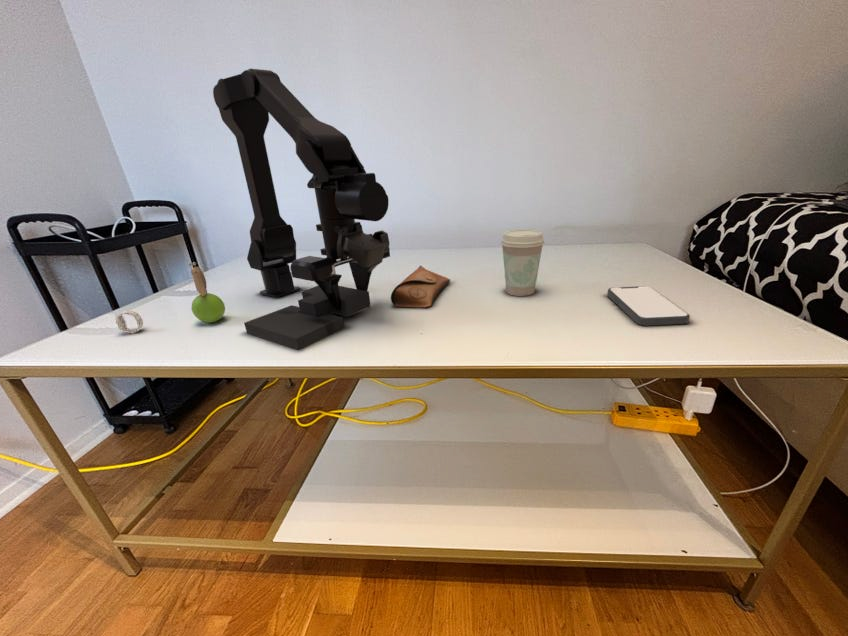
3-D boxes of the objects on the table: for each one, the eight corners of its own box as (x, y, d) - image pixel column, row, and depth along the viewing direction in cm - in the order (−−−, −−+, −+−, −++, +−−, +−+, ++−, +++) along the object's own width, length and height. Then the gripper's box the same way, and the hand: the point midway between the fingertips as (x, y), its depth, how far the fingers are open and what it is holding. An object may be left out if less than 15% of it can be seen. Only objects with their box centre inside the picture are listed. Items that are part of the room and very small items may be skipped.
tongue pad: (288, 312, 77) (284, 297, 76) (327, 297, 84) (325, 283, 83) (331, 323, 71) (328, 307, 70) (370, 306, 78) (368, 291, 77)
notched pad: (246, 333, 72) (243, 322, 71) (293, 314, 80) (291, 305, 79) (298, 350, 65) (295, 338, 64) (344, 328, 73) (342, 317, 72)
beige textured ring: (147, 328, 76) (139, 308, 75) (143, 332, 75) (134, 311, 73) (126, 331, 76) (116, 310, 74) (121, 335, 74) (111, 314, 72)
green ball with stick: (196, 331, 74) (173, 265, 69) (197, 319, 79) (175, 257, 74) (229, 324, 76) (209, 260, 71) (228, 314, 82) (209, 253, 76)
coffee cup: (495, 296, 84) (495, 236, 79) (505, 284, 91) (507, 228, 86) (536, 299, 81) (540, 237, 76) (544, 287, 88) (548, 229, 83)
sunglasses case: (432, 305, 79) (413, 276, 77) (404, 321, 82) (385, 293, 80) (452, 279, 95) (436, 254, 93) (427, 293, 98) (412, 269, 96)
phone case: (691, 325, 68) (648, 293, 82) (694, 316, 67) (650, 285, 81) (638, 328, 68) (604, 295, 82) (639, 319, 67) (605, 287, 81)
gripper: (327, 229, 59) (344, 330, 66) (408, 211, 72) (415, 296, 79) (278, 225, 64) (299, 318, 71) (362, 208, 78) (373, 288, 85)
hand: (351, 304), depth 77 cm, fingers closed on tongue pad, 6 cm apart
